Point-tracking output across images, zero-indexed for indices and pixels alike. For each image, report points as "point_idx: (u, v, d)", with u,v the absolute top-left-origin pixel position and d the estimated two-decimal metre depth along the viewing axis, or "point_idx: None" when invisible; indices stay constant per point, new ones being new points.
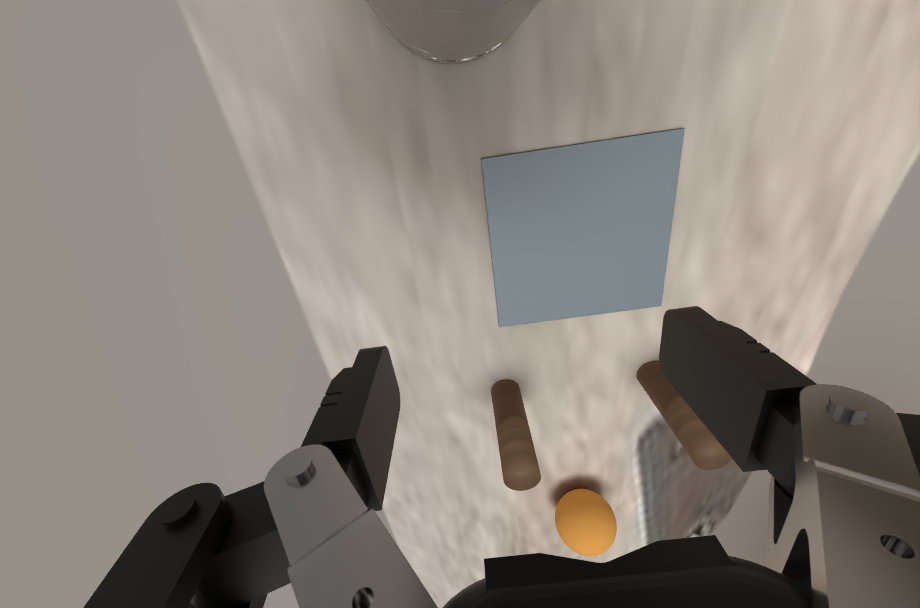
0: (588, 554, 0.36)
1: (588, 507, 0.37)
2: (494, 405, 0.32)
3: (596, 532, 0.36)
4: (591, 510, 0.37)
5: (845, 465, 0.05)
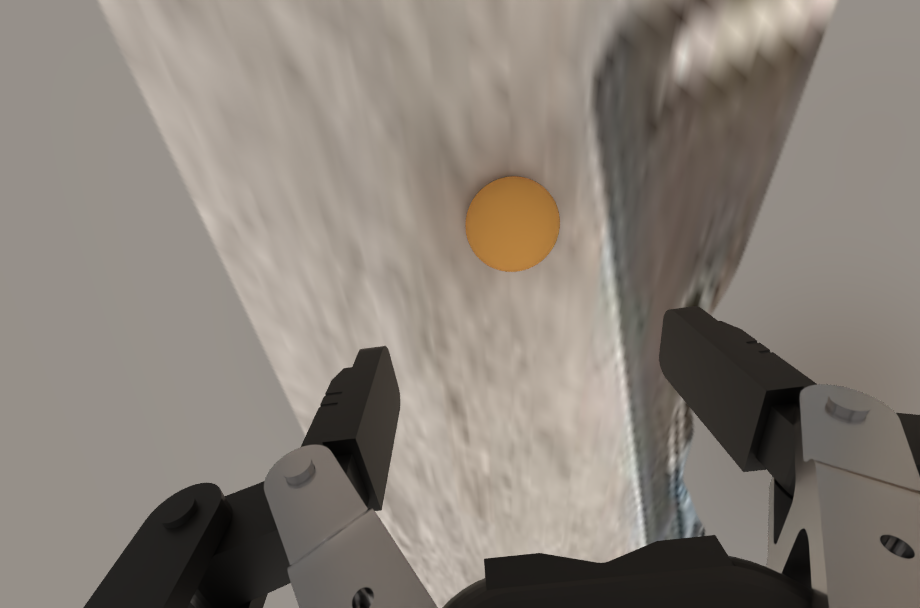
0: (510, 250, 0.22)
1: (511, 179, 0.22)
2: None
3: (520, 202, 0.21)
4: (515, 180, 0.22)
5: (845, 465, 0.05)
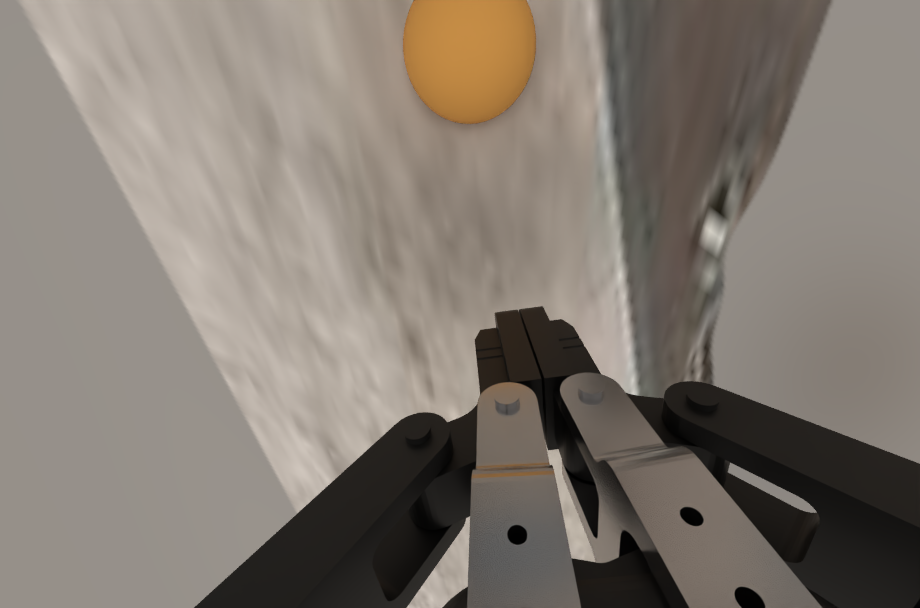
0: (460, 60, 0.15)
1: None
2: None
3: None
4: None
5: (616, 447, 0.06)
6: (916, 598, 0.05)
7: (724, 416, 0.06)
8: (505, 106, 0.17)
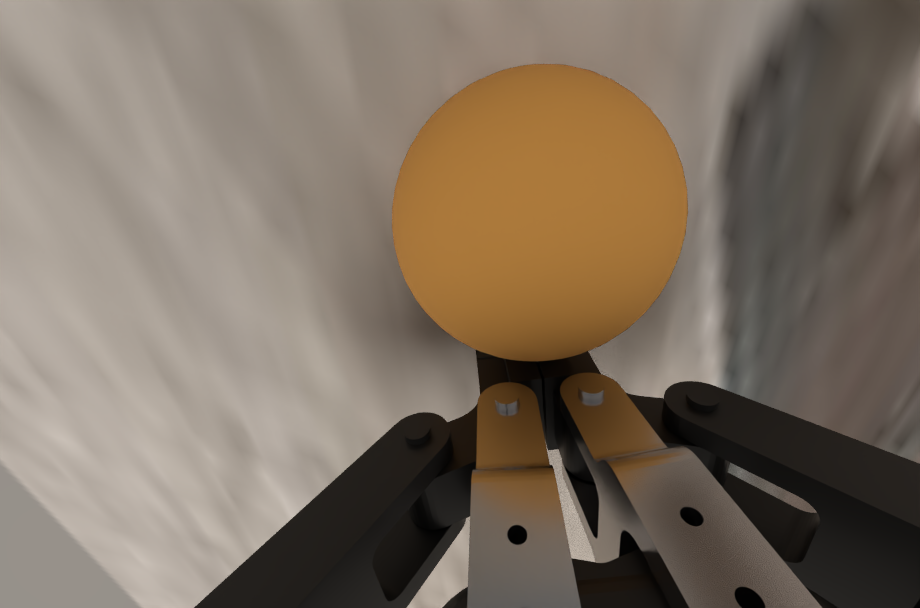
0: (492, 74, 0.07)
1: None
2: None
3: None
4: None
5: (616, 447, 0.06)
6: (916, 598, 0.05)
7: (724, 416, 0.06)
8: (642, 155, 0.06)
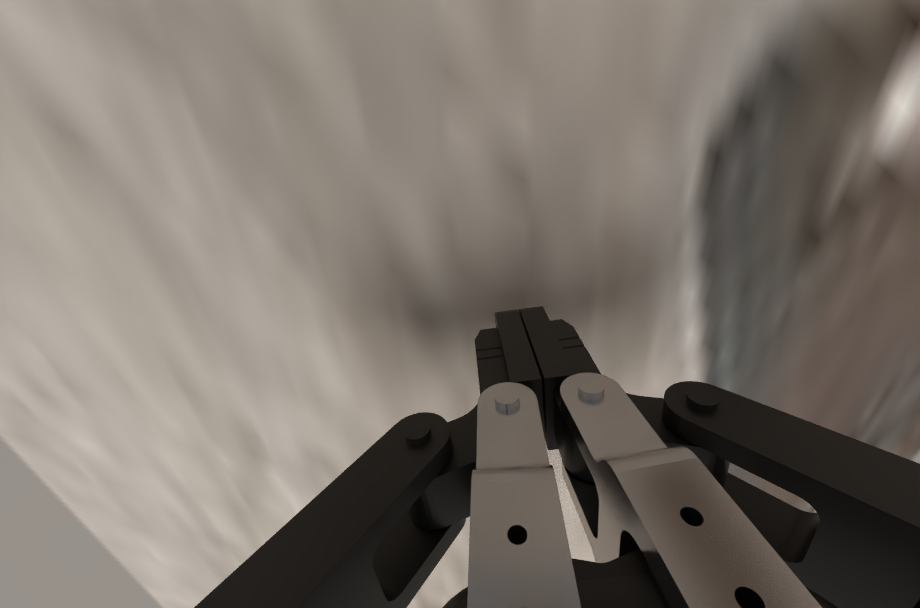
0: None
1: None
2: None
3: None
4: None
5: (617, 447, 0.06)
6: (916, 598, 0.05)
7: (724, 416, 0.06)
8: None
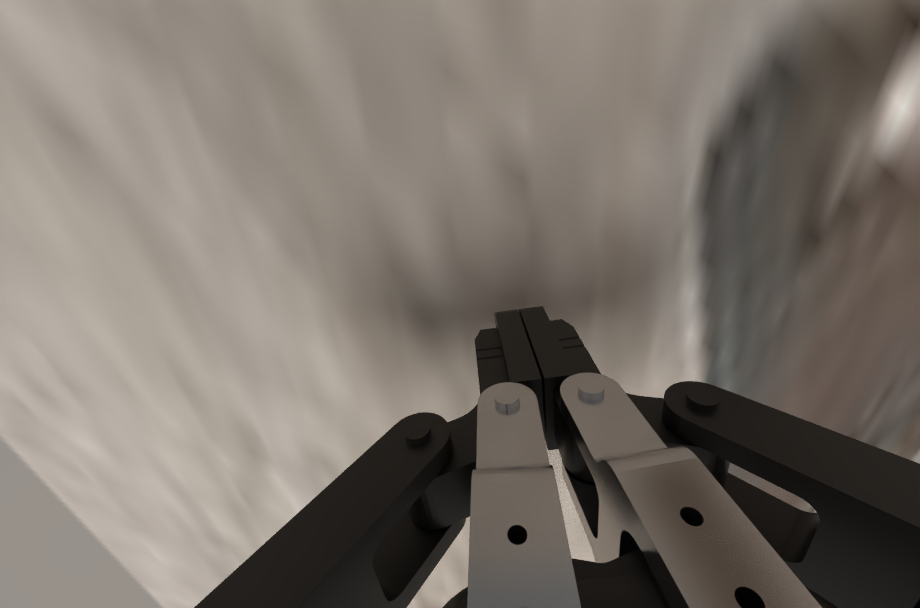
0: None
1: None
2: None
3: None
4: None
5: (617, 447, 0.06)
6: (916, 598, 0.05)
7: (724, 416, 0.06)
8: None
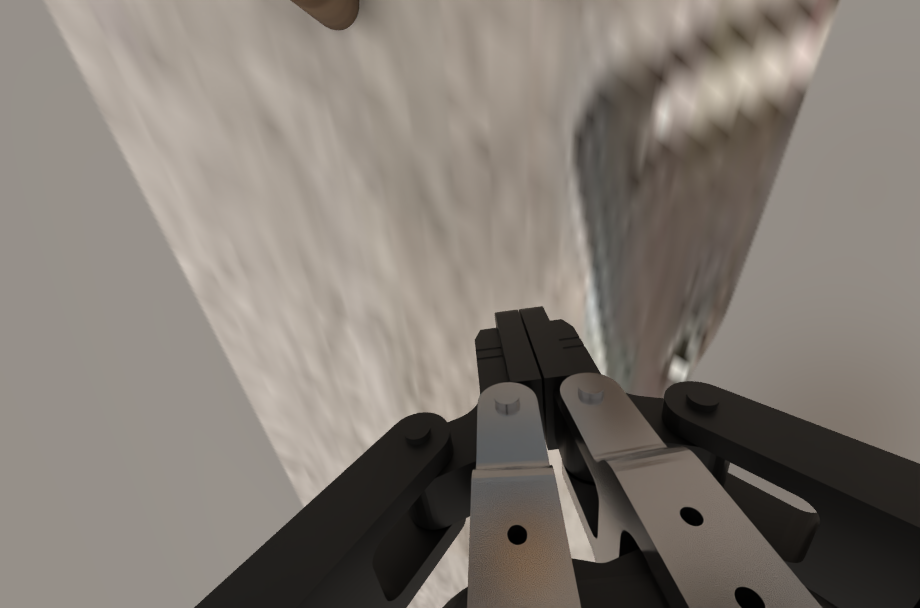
0: None
1: None
2: None
3: None
4: None
5: (617, 447, 0.06)
6: (916, 598, 0.05)
7: (724, 416, 0.06)
8: None
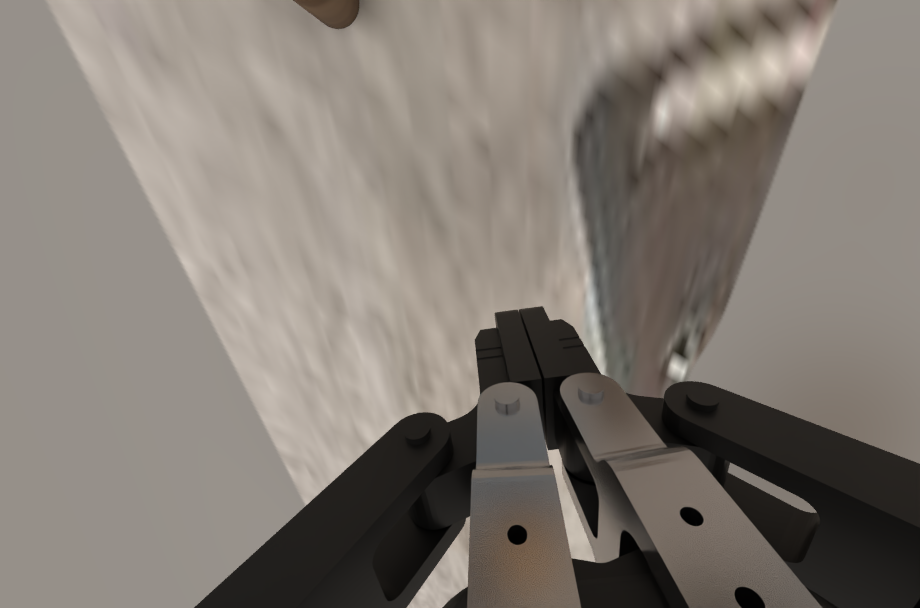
0: None
1: None
2: None
3: None
4: None
5: (617, 447, 0.06)
6: (916, 598, 0.05)
7: (724, 416, 0.06)
8: None
